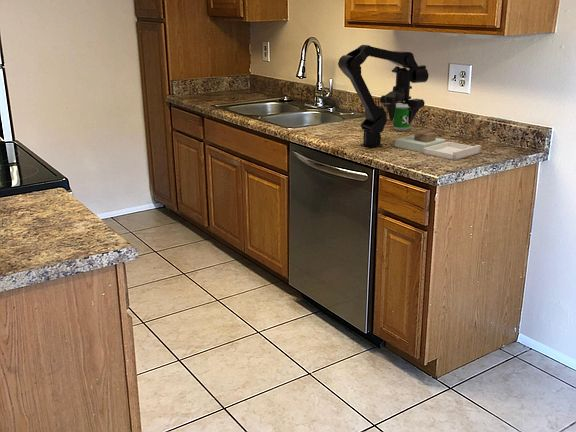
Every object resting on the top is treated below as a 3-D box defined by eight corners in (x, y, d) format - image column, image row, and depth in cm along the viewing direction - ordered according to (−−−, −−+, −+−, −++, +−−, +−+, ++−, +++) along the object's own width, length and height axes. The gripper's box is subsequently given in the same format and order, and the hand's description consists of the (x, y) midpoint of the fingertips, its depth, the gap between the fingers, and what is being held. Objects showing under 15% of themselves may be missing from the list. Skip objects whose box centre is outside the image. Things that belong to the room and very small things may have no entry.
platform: (394, 146, 247) (394, 139, 246) (416, 141, 256) (416, 134, 254) (423, 152, 237) (424, 145, 236) (445, 146, 245) (445, 139, 244)
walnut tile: (414, 140, 244) (414, 132, 243) (423, 137, 247) (423, 130, 246) (426, 142, 239) (426, 135, 238) (435, 140, 243) (436, 132, 242)
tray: (422, 153, 235) (422, 145, 234) (448, 146, 246) (448, 139, 245) (454, 160, 225) (455, 152, 224) (480, 152, 235) (480, 145, 234)
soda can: (396, 131, 273) (398, 105, 269) (390, 128, 280) (391, 102, 276) (412, 131, 275) (414, 104, 271) (406, 127, 282) (407, 101, 278)
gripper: (371, 83, 247) (370, 121, 252) (408, 87, 234) (406, 128, 239) (389, 80, 254) (387, 118, 259) (426, 85, 240) (423, 124, 246)
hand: (400, 122), depth 250 cm, fingers open, 9 cm apart
